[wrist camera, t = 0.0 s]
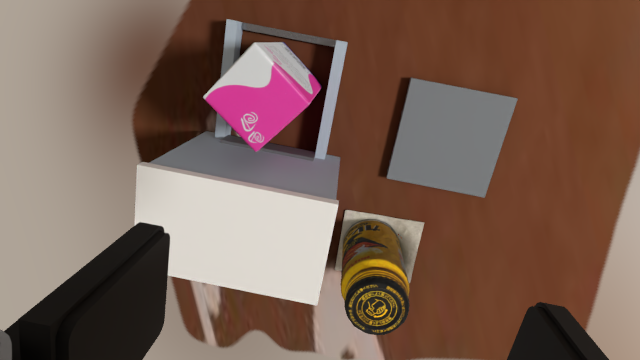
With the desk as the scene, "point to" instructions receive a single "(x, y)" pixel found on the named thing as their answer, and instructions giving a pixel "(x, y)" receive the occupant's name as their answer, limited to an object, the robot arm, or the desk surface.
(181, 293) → the desk surface
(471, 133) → the coaster
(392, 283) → the condiment
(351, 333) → the desk surface
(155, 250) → the robot arm
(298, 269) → the dispenser
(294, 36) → the bar
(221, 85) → the supplement box
